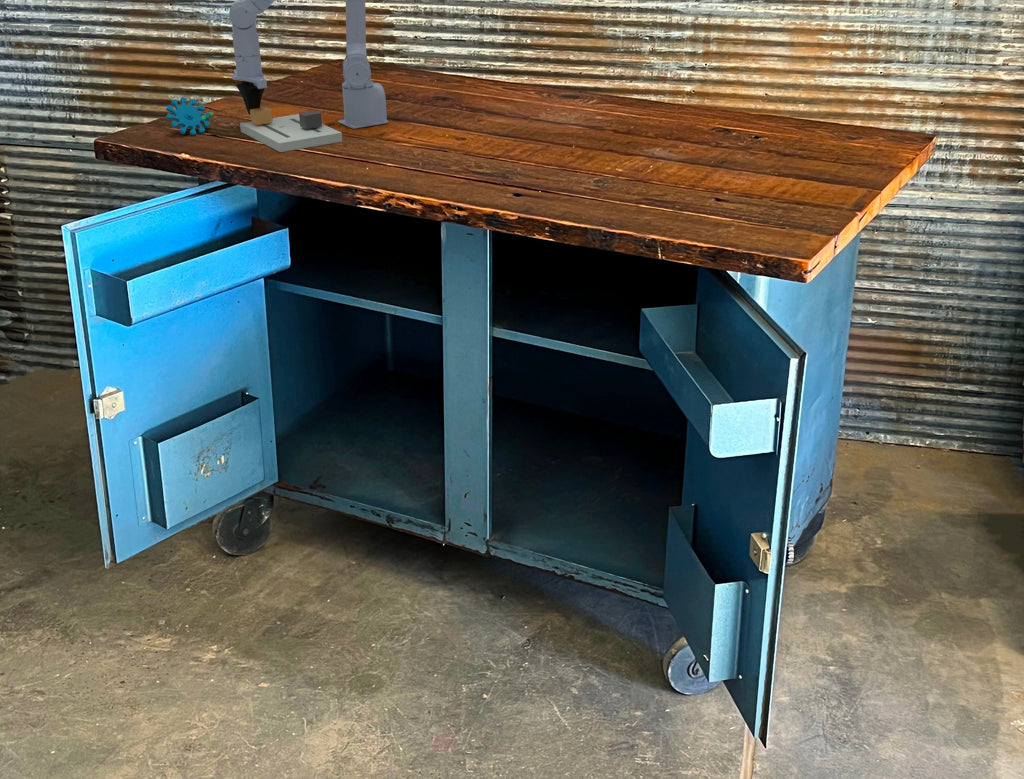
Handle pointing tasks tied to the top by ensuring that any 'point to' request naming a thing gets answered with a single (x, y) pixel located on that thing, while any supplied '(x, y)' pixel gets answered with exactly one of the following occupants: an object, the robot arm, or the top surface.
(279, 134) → the fader panel
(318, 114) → the black fader
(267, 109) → the tan fader
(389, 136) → the top surface
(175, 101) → the gear
